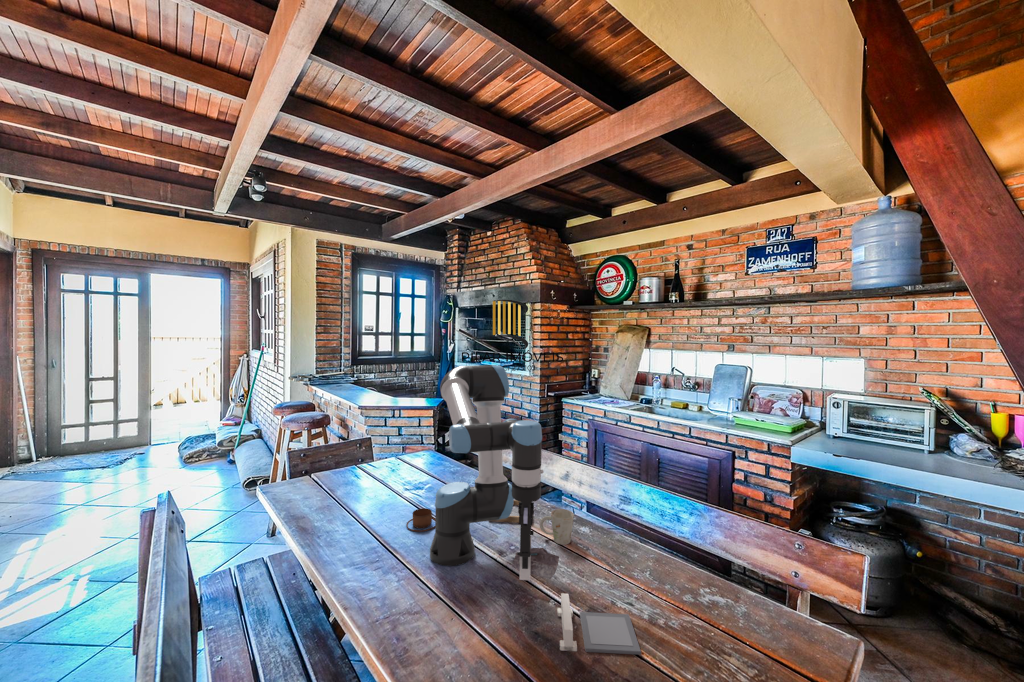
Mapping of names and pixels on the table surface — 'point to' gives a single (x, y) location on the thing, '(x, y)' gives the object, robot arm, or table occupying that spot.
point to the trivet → (609, 633)
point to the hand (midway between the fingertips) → (525, 569)
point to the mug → (560, 525)
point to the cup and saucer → (421, 519)
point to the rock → (540, 562)
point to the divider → (566, 624)
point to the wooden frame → (510, 518)
